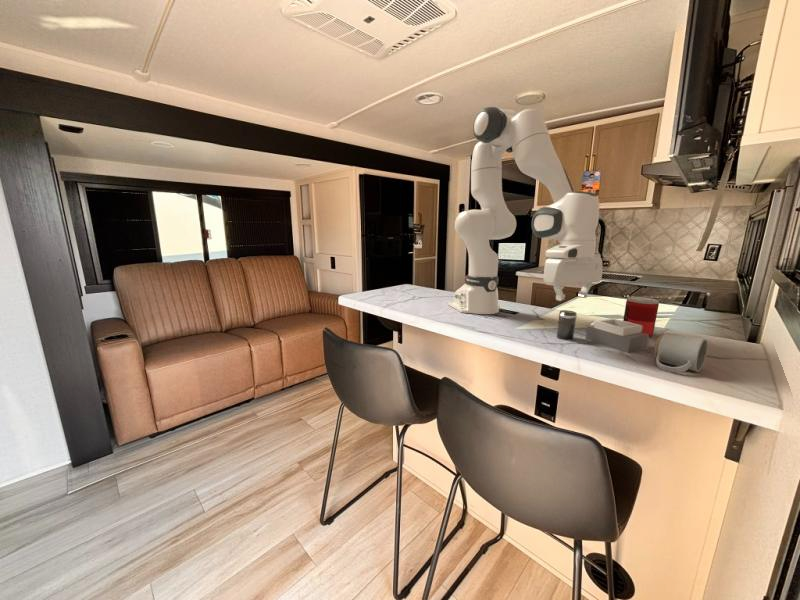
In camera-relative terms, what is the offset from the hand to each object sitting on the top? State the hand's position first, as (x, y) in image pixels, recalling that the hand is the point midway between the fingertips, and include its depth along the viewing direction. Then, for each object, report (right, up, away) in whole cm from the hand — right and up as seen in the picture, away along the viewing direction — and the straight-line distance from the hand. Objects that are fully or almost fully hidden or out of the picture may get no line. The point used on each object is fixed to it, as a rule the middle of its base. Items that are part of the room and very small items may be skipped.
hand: (571, 298), depth 90 cm
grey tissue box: (+12, -13, -1) cm, 17 cm away
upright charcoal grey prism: (0, -12, +3) cm, 12 cm away
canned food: (+25, -11, +8) cm, 28 cm away
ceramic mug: (+16, -16, -17) cm, 28 cm away
